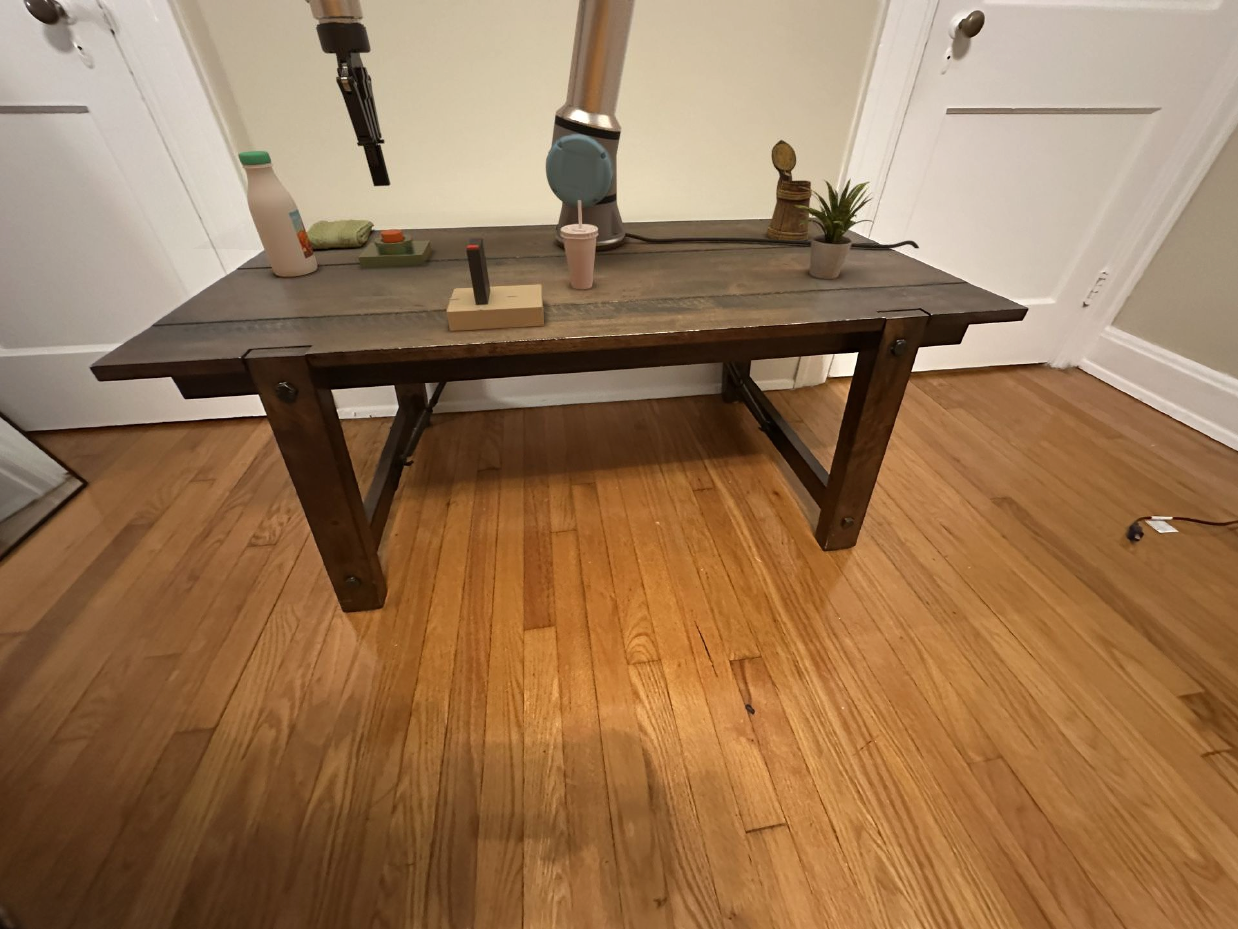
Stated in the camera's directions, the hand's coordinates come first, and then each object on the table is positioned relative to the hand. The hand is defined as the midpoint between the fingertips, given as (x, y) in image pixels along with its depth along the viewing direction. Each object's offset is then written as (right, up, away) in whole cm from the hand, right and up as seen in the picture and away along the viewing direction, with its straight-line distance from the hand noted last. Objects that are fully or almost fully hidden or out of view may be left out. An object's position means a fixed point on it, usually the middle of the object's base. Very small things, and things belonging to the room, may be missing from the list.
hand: (382, 185), depth 100 cm
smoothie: (+38, -21, -5) cm, 44 cm away
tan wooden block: (+26, -29, -16) cm, 42 cm away
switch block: (0, -11, +8) cm, 14 cm away
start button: (0, -8, +6) cm, 10 cm away
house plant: (+83, -16, 0) cm, 85 cm away
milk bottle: (-18, -15, +3) cm, 24 cm away
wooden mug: (+82, 0, +22) cm, 85 cm away
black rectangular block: (+24, -27, -18) cm, 40 cm away
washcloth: (-18, -2, +20) cm, 27 cm away
